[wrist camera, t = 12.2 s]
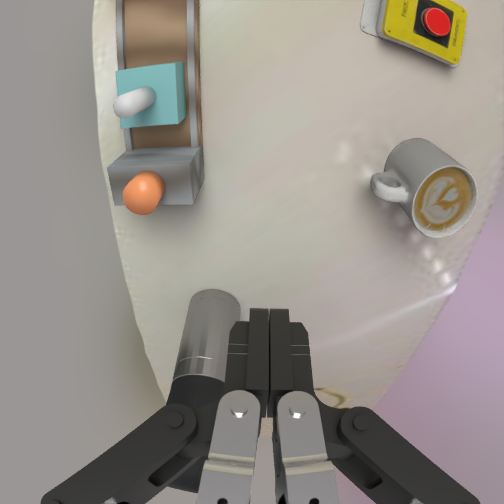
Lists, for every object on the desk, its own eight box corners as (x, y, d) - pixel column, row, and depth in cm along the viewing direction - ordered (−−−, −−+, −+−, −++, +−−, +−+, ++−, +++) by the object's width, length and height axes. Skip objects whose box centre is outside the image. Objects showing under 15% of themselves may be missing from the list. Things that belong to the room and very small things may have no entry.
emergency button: (471, 73, 27) (368, 28, 26) (454, 69, 30) (357, 30, 29) (482, 14, 21) (379, -37, 20) (464, 14, 25) (367, -29, 24)
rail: (204, 177, 42) (193, 204, 35) (136, 179, 42) (114, 205, 35) (200, -51, 23) (185, -72, 16) (123, -37, 23) (94, -51, 16)
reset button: (166, 201, 35) (159, 214, 32) (135, 202, 35) (126, 215, 32) (162, 169, 32) (154, 180, 30) (129, 171, 32) (119, 181, 30)
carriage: (186, 116, 35) (162, 138, 27) (133, 120, 35) (97, 144, 27) (184, 61, 31) (157, 66, 23) (129, 68, 31) (89, 77, 23)
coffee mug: (450, 147, 37) (488, 175, 29) (430, 206, 43) (460, 242, 34) (371, 124, 36) (400, 148, 28) (354, 191, 42) (375, 229, 34)
